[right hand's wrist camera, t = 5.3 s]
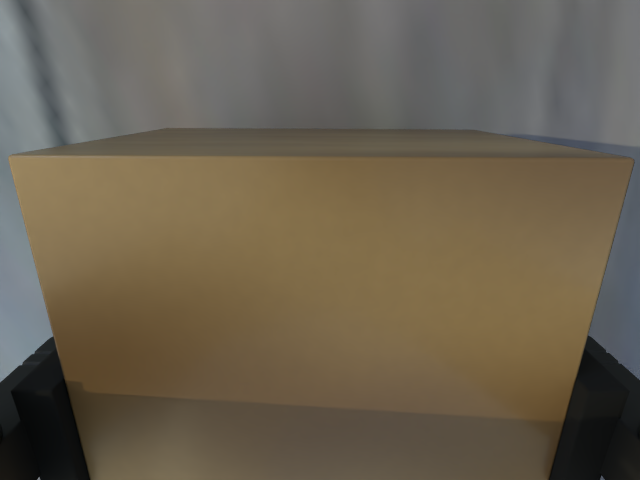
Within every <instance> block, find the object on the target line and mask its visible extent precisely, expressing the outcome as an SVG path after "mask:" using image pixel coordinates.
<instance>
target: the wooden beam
mask: <svg viewBox="0 0 640 480" xmlns="http://www.w3.org/2000/svg"><path fill="white" fill-rule="evenodd" d="M8 160H9V164H10V168H11V172H12V175H13V179H14V183H15V187H16V191H17V195H18V199H19V203H20V207H21V211H22V215H23V219H24V223H25V226H26V230H27V234H28V238H29V242H30V246H31V250H32V254H33V258H34V262H35V266H36V270H37V273H38V277H39V281H40V285H41V289H42V293H43V297H44V301H45V305H46V309H47V313H48V317H49V320H50V324H51V328H52V332H53V336H54V340H55V344H56V348H57V352H58V356H59V360H60V364H61V367H62V371H63V375H64V379H65V383H66V387H67V391H68V395H69V399H70V403H71V407H72V411H73V415H74V418H75V422H76V426H77V430H78V434H79V438H80V442H81V446H82V450H83V454H84V458H85V462H86V465H87V469H88V473H89V477H90V480H549V478H550V474H551V470H552V467H553V463H554V459H555V455H556V452H557V448H558V444H559V441H560V437H561V433H562V429H563V426H564V422H565V418H566V415H567V411H568V407H569V403H570V400H571V396H572V392H573V389H574V385H575V381H576V377H577V374H578V370H579V366H580V363H581V359H582V355H583V351H584V348H585V344H586V340H587V337H588V333H589V329H590V325H591V322H592V318H593V314H594V311H595V307H596V303H597V300H598V296H599V292H600V288H601V285H602V281H603V277H604V274H605V270H606V266H607V262H608V259H609V255H610V251H611V248H612V244H613V240H614V236H615V233H616V229H617V225H618V222H619V218H620V214H621V210H622V207H623V203H624V199H625V196H626V192H627V188H628V184H629V181H630V177H631V173H632V170H633V166H634V159H632V158H630V157H624V156H619V155H613V154H607V153H602V152H596V151H590V150H585V149H579V148H573V147H568V146H562V145H556V144H550V143H545V142H539V141H533V140H528V139H522V138H516V137H511V136H505V135H499V134H494V133H488V132H482V131H477V130H411V129H232V128H165V129H160V130H154V131H148V132H142V133H136V134H130V135H124V136H118V137H112V138H106V139H100V140H94V141H89V142H83V143H77V144H71V145H65V146H59V147H53V148H47V149H41V150H35V151H29V152H23V153H17V154H12V155H10V156H9V158H8Z"/></svg>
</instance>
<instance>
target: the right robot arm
mask: <svg viewBox="0 0 640 480" xmlns="http://www.w3.org/2000/svg"><path fill="white" fill-rule="evenodd" d="M601 475H602V476H603V478H604V479H605V480H640V380H639V379H638V378H636V377H635V376H634V375H633V374H632V373H631V372H630V371H629V370H627V369H626V368H625V367H624V366H623V365H622V364H618V361H617V360H616V359H615V358H614V357H613V356H612V355H611V354H609V353H606V350H605V349H604V348H603V347H602V346H600V345H599V344H598V343H597V342H596V341H595V340H594V339H593V338H591V337H590V336H588V337H587V340H586V344H585V348H584V351H583V355H582V359H581V363H580V366H579V370H578V374H577V377H576V381H575V385H574V389H573V392H572V396H571V400H570V403H569V407H568V411H567V415H566V418H565V422H564V426H563V429H562V433H561V437H560V441H559V444H558V448H557V452H556V455H555V459H554V463H553V467H552V470H551V474H550V478H549V480H600V478H601ZM39 477H40V480H90V477H89V473H88V469H87V465H86V462H85V458H84V454H83V450H82V446H81V442H80V438H79V434H78V430H77V426H76V422H75V418H74V415H73V411H72V407H71V403H70V399H69V395H68V391H67V387H66V383H65V379H64V375H63V371H62V367H61V364H60V360H59V356H58V352H57V348H56V344H55V340H54V336H53V337H51V338H50V339H48V340H47V341H46V342H45V343H44V344H43V345H42V346H41V347H39V348H38V349H37V350H36V351H35V354H32V355H31V356H29V357H28V358H27V359H26V360H25V361H24V362H23V364H22V365H19V366H18V367H17V368H16V369H15V370H14V371H13V372H12V373H10V374H9V375H8V376H7V377H6V378H5V379H4V380H3V381H2V382H0V480H37V479H38V478H39Z"/></svg>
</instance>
